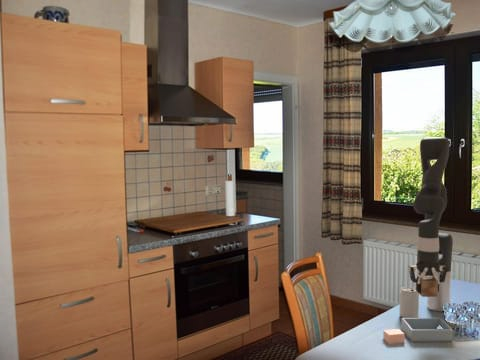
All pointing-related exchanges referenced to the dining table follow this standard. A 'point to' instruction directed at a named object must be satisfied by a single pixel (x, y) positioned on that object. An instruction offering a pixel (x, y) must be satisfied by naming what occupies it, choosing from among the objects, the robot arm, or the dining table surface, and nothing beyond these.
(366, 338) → the dining table surface
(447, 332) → the tote
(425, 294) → the block
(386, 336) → the light box
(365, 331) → the dining table surface
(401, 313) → the can
